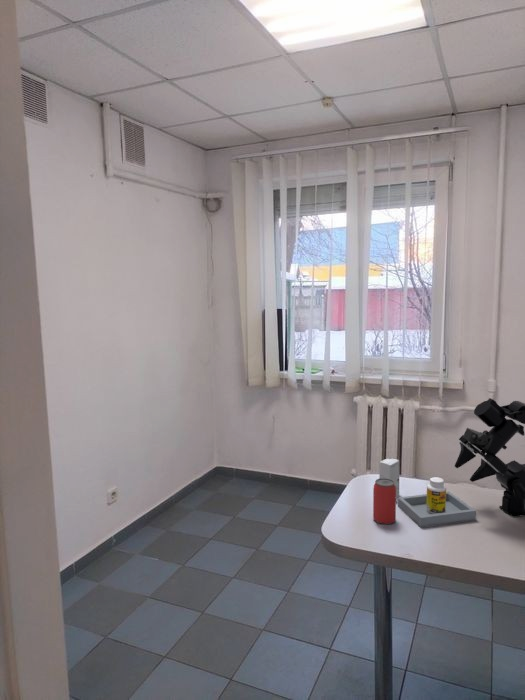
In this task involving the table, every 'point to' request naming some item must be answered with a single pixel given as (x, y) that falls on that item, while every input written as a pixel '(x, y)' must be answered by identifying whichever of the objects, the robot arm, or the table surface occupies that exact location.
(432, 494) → the supplement bottle
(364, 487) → the table surface
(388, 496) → the beer can
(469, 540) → the table surface
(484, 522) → the table surface
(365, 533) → the table surface
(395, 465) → the skincare box
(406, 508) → the sorting tray
